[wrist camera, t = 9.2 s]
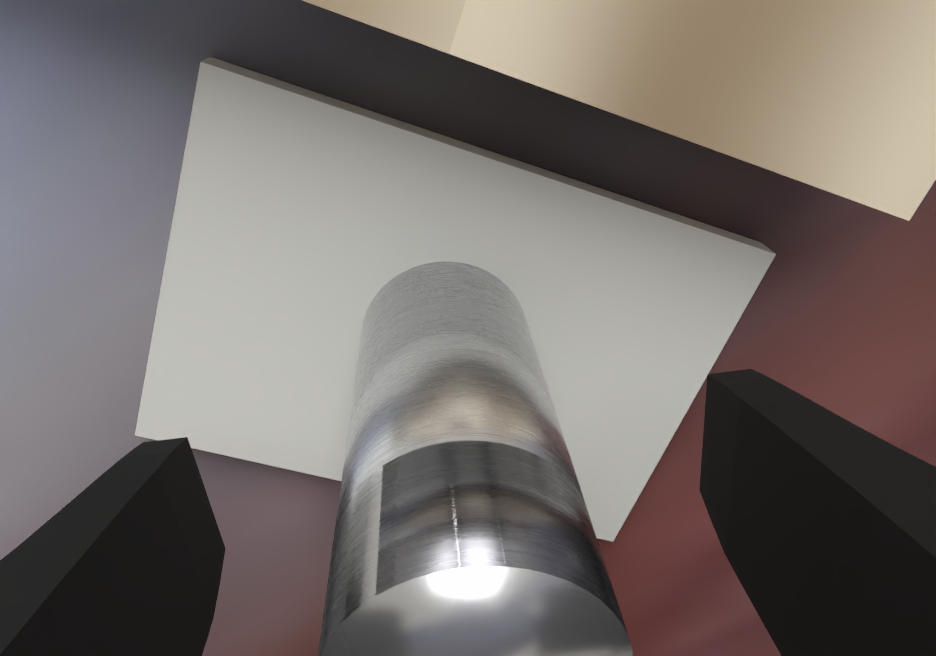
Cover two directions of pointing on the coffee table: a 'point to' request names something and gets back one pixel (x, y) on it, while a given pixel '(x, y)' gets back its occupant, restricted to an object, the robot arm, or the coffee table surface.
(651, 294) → the mat
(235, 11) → the coffee table surface
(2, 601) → the robot arm
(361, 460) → the metal cylinder
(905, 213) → the socket block
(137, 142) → the coffee table surface
